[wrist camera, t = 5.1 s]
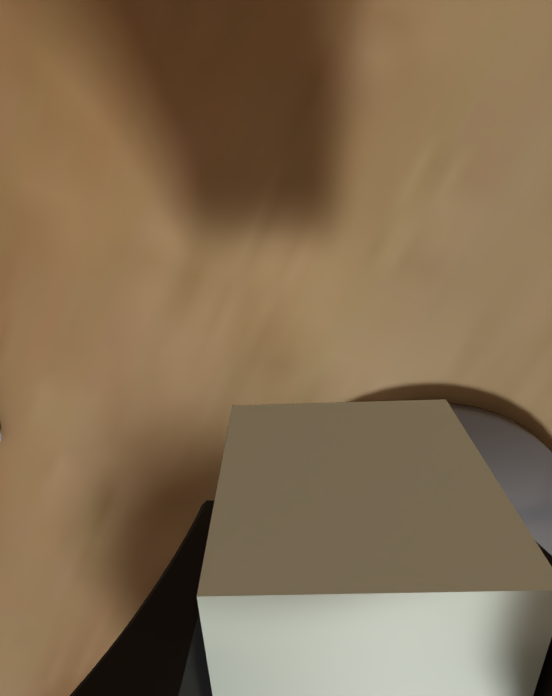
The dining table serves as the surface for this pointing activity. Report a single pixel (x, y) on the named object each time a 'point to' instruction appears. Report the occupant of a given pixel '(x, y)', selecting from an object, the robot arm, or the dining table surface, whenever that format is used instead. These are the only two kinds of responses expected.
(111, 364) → the dining table surface
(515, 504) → the plate
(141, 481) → the dining table surface
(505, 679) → the cube
